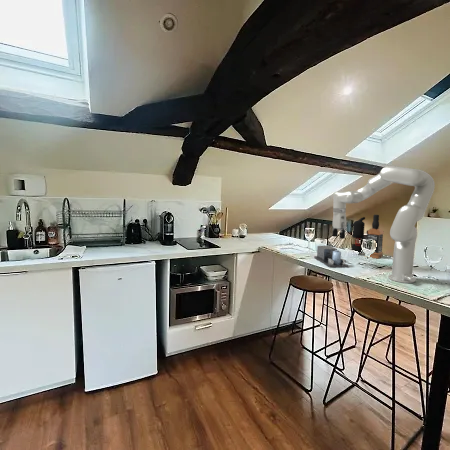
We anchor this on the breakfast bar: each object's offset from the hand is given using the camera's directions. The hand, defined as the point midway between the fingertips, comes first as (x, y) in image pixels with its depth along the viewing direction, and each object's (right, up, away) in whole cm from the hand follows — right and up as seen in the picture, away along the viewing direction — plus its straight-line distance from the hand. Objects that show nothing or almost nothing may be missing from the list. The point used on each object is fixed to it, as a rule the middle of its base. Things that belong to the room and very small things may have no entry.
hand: (338, 237), depth 179 cm
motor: (-1, -18, +13) cm, 22 cm away
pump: (-1, -17, +2) cm, 18 cm away
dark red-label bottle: (+30, -15, +39) cm, 52 cm away
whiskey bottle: (+39, -16, +30) cm, 52 cm away
